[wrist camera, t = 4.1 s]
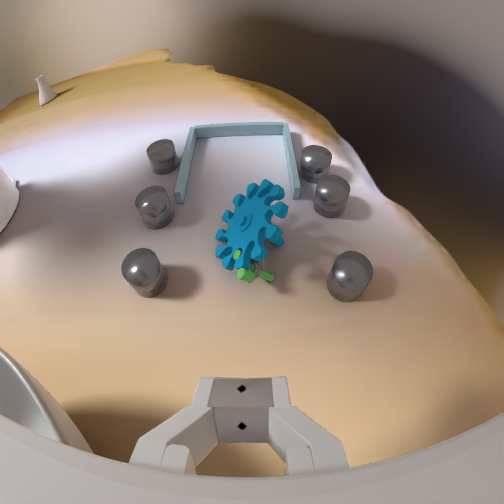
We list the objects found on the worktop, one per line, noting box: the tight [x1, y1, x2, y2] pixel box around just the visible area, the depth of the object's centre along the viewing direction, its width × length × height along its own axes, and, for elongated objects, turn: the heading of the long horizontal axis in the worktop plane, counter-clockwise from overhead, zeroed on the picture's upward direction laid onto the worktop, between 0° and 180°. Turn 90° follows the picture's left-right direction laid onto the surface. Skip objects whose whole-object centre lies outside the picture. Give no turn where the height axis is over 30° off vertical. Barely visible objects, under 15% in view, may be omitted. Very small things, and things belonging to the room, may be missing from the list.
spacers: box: [122, 139, 373, 302], centre depth 33 cm, size 26×24×4 cm
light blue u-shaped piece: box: [174, 122, 301, 203], centre depth 39 cm, size 16×15×2 cm
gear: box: [216, 179, 289, 283], centre depth 30 cm, size 11×6×10 cm
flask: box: [36, 75, 57, 106], centre depth 61 cm, size 7×7×10 cm
